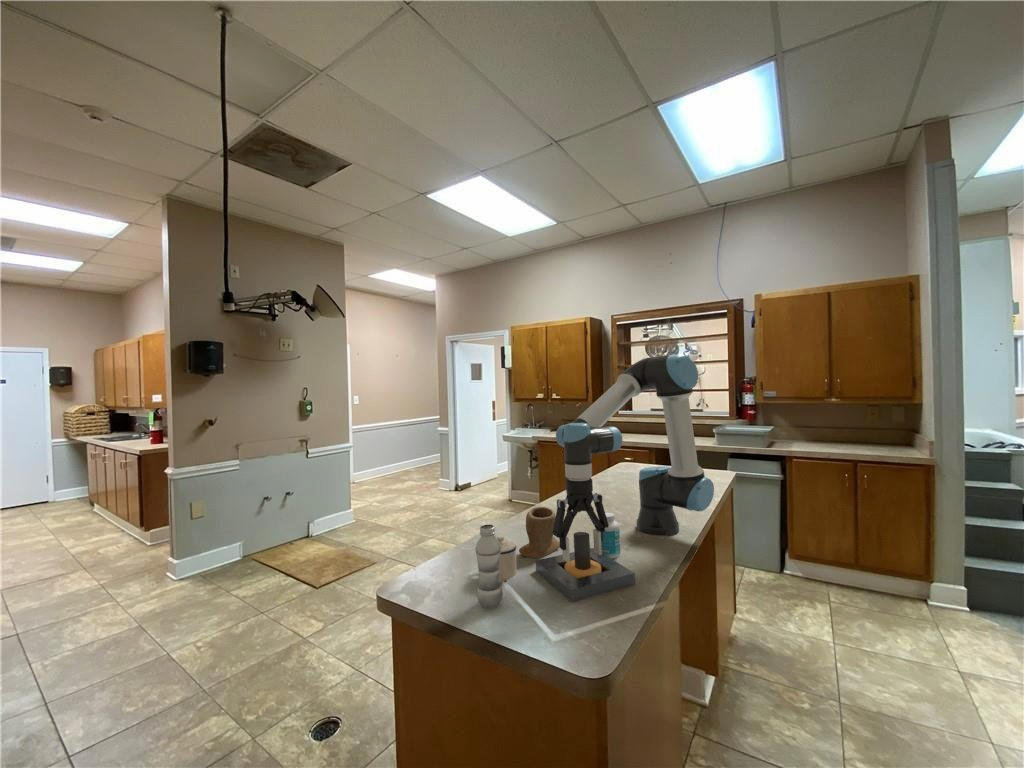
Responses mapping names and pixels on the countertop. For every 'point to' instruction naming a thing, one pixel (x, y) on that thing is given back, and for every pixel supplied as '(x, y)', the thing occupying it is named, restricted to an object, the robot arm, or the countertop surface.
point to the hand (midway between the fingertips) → (582, 557)
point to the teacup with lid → (507, 559)
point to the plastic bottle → (488, 568)
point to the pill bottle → (611, 538)
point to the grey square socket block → (587, 586)
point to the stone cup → (540, 533)
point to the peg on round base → (582, 558)
